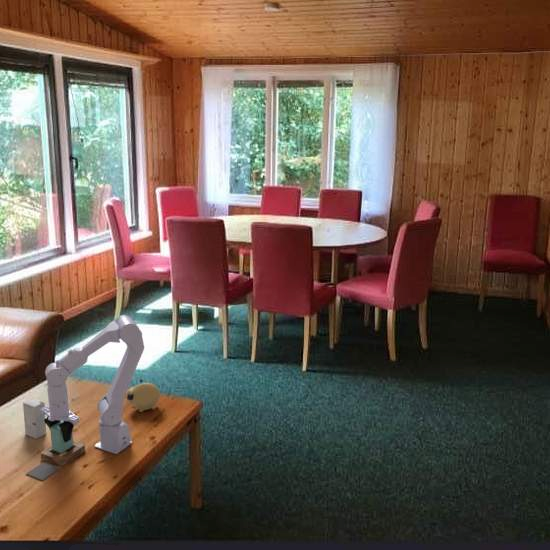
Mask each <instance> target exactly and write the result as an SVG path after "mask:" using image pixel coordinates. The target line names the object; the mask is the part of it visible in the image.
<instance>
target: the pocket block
mask: <svg viewBox="0 0 550 550" xmlns="http://www.w3.org/2000/svg"><path fill="white" fill-rule="evenodd" d="M68 450H69V451H67V452H66V453H65V454H63V455H58V454H57V453H58V452H57V451H54V450H52V445H50V446H49V447H48V448H46V449H45V450H42V451H41V452H40V459H41V460H43V461H44V462H47V463H49V464H52V465H55V466H56V465H57V467H60V468H61V467H64V466H65V465H67V464H69V463H70V462H71V461H72V460H74V459H77V457H79V456H80V455H81V454H83V453H84V452H86V446H85V444H83V443H79V442H78V441H75V440H73V446H72V447H70V448H69V449H68Z"/></svg>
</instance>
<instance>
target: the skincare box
mask: <svg viewBox="0 0 550 550" xmlns="http://www.w3.org/2000/svg"><path fill="white" fill-rule="evenodd" d="M22 407H23V419H24V420H23V422H24V432H25V435H27V436H29V437H31V438H33V439H35V440H36V439H39V438H41V437H44V435H47V424H46V423H45V422H44V420H45V419H46V414H45V415H41V409H42V408H44V407H46V406H45V401H42V400H40V399H38V398H34V397H31V398H29V399H27V400H25V401H23V402H22Z"/></svg>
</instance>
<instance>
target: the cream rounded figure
mask: <svg viewBox="0 0 550 550" xmlns="http://www.w3.org/2000/svg"><path fill="white" fill-rule="evenodd" d="M160 395H161V394H160V391H159V388H158V386H157V385H155V384H154V383H152V382H142V383H139V384H137V385H134V386H130V387H128V388H127V391H126V393H125V399H126V401H127V403H128V404H130V405H133V406H134V407H135V408H136V409H137V410H138V411H139V413H140V412H142V413H144V411H146V410H156V408H157V407H156V406H157V404H158V403H159V400H160Z"/></svg>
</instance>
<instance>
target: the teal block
mask: <svg viewBox="0 0 550 550" xmlns="http://www.w3.org/2000/svg"><path fill="white" fill-rule="evenodd" d="M62 422H64V421H60V422H58V423H57V424H55V425H53V426H52V427H50V429H49V431H50V439H51V446H52V450H54V451H57V453H61V454H62V453H64V452H65V451H67V450H70V449H69V448H70V447H72V446H73V441H74V437H73V433H72V434H71V439H70V440H69V441H68V442H64V440H63V434H62V431H61V429H60V427H59V424H61V423H62Z"/></svg>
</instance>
